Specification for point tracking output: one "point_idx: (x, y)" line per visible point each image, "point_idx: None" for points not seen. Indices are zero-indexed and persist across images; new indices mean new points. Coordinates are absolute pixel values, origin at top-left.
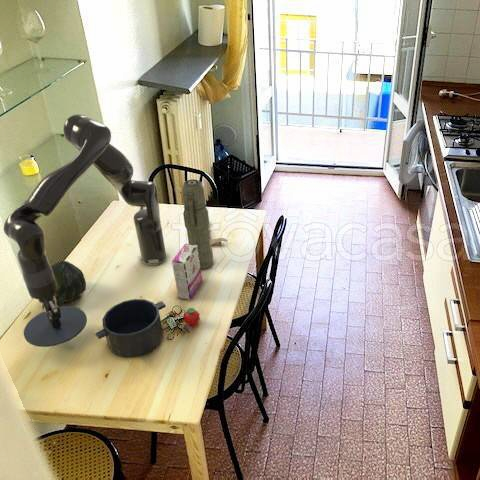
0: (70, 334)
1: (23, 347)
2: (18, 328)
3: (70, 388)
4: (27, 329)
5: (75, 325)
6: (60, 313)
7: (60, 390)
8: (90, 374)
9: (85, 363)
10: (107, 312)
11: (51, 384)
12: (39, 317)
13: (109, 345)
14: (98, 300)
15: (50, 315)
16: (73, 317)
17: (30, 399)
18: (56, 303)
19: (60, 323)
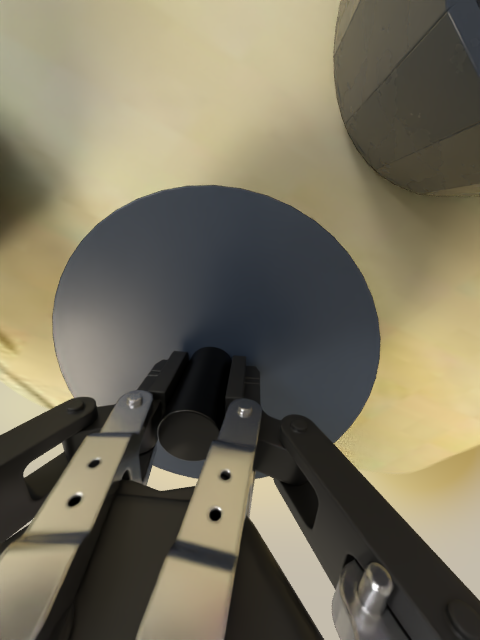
0: (351, 348)
1: None
2: (57, 381)
3: (451, 389)
4: (155, 456)
5: (301, 294)
6: (382, 496)
7: (428, 410)
8: (462, 320)
9: (397, 306)
10: (465, 3)
11: (382, 415)
12: (97, 392)
13: (463, 191)
14: (31, 35)
15: (253, 486)
16: (218, 268)
17: (382, 466)
18: (241, 532)
19: (245, 362)
